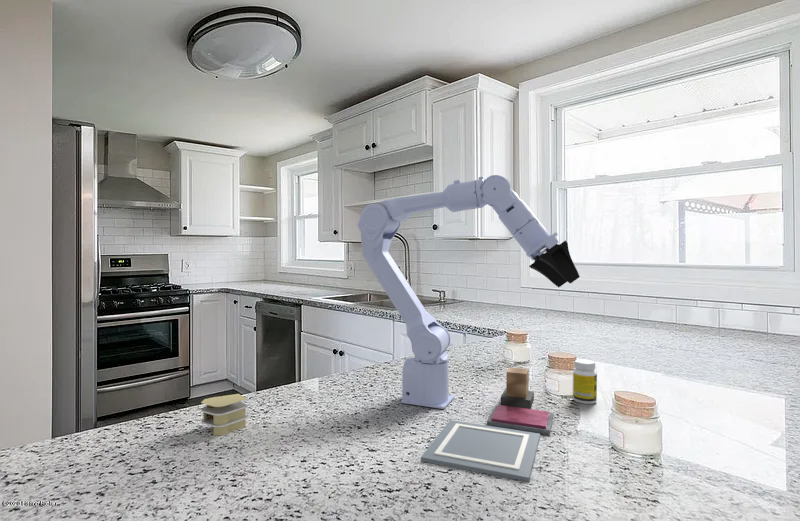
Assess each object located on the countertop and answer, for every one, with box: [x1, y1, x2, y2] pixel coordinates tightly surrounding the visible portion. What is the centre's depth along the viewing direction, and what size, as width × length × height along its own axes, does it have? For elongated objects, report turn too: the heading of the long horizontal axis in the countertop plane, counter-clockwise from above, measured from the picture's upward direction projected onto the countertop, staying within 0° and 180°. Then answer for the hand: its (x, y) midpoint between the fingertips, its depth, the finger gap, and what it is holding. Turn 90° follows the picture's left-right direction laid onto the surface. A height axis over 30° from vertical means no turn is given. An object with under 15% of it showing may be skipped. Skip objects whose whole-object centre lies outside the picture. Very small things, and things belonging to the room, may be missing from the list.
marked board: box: [420, 419, 541, 483], centre depth 73 cm, size 16×16×1 cm
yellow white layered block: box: [200, 393, 249, 436], centre depth 81 cm, size 10×9×6 cm
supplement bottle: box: [572, 358, 598, 405], centre depth 95 cm, size 5×5×8 cm
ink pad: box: [486, 404, 554, 436], centre depth 84 cm, size 11×9×1 cm
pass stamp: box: [500, 366, 535, 409], centre depth 94 cm, size 6×6×7 cm
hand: (568, 282), depth 86 cm, fingers open, 7 cm apart
